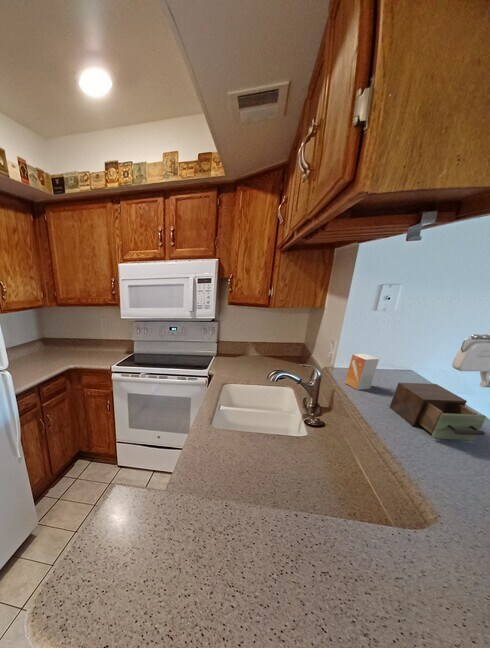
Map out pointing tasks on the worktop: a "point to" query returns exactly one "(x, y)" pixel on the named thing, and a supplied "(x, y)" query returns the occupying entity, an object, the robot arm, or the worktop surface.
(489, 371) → the robot arm
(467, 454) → the worktop surface
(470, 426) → the drawer
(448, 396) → the cabinet
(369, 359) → the small box
